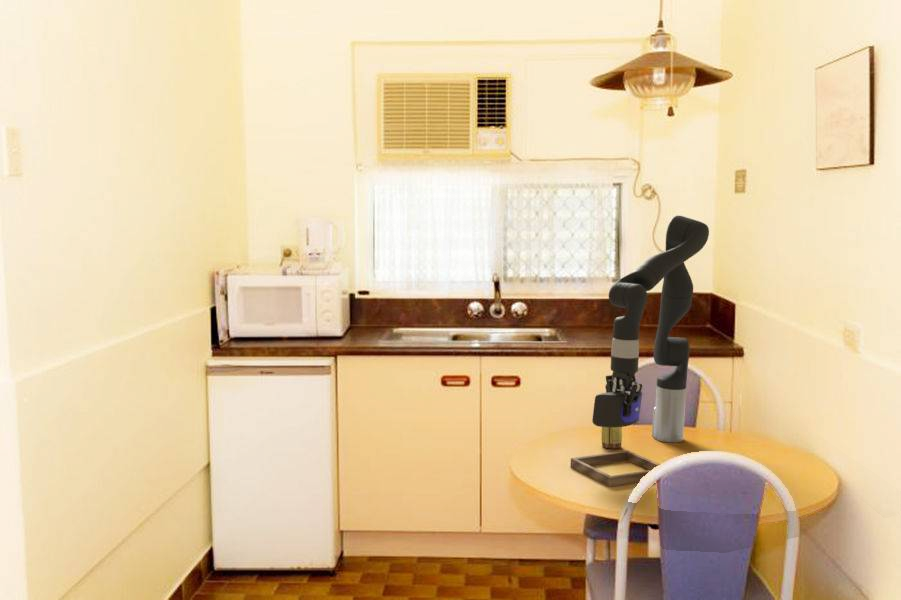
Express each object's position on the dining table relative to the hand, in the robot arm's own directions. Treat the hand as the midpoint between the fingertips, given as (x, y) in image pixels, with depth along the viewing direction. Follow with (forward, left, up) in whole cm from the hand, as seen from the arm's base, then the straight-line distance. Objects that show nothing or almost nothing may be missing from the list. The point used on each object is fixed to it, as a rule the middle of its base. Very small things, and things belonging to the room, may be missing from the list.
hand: (621, 414), depth 236 cm
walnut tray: (0, 0, -17) cm, 17 cm away
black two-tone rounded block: (-2, 0, -3) cm, 4 cm away
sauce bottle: (-21, +13, -17) cm, 30 cm away
